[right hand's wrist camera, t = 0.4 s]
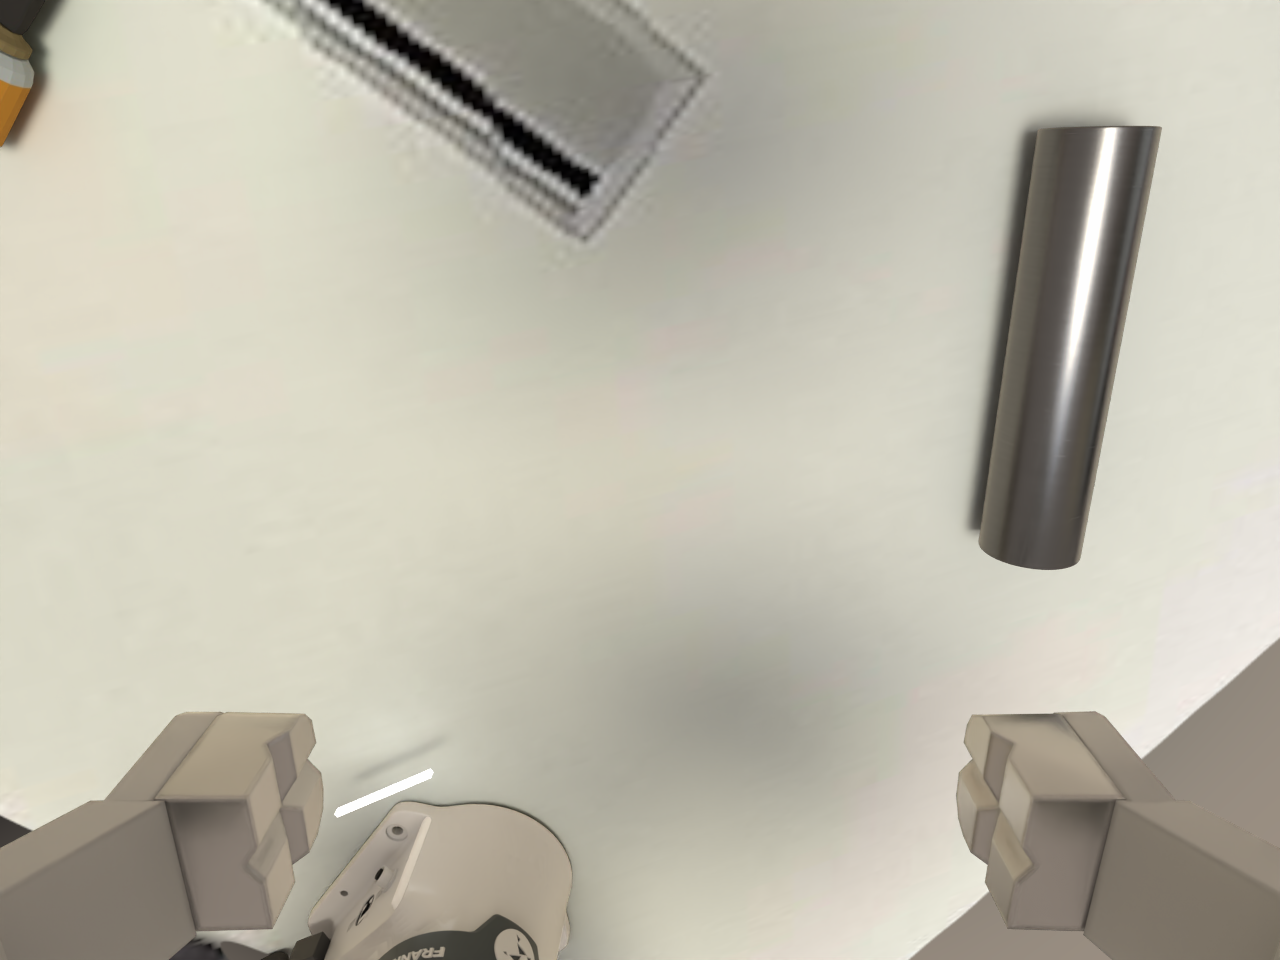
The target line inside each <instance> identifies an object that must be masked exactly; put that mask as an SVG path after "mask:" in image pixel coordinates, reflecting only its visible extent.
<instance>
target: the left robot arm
mask: <svg viewBox="0 0 1280 960" xmlns="http://www.w3.org/2000/svg"><path fill="white" fill-rule="evenodd" d="M432 774H433V771H432V770H431V769H429V770H427V771H425V772H422V773H420V774H417V775H415V776H413V777H410V778H408V779H406V780H403V781H401V782H399V783H396V784H394V785H391V786H389V787H387V788H384V789H382V790H380V791H377V792H375V793H373V794H370V795H368V796H365V797H363V798H361V799H358V800H356V801H354V802H351V803H349V804H347V805H344V806H342V807H339V808H338V809H337V811H336V813H335V815H336V816H337V817H339V816H341V815H344V814H346V813H348V812H351V811H353V810H356V809H358V808H360V807H363V806H365V805H367V804H370V803H372V802H375V801H377V800H379V799H382V798H384V797H386V796H389V795H391V794H394V793H396V792H398V791H401V790H403V789H405V788H408V787H410V786H413V785H415V784H417V783H420V782H422V781H424V780H427V779H429V778H431V776H432ZM396 826H399V827H401V828H397V827H396ZM571 888H572V869H571V864H570V861H569V858H568V856H567V854H566V852H565V850H564V848H563V846H562V845H561V844H560V842H559V841H558V840H557V838H556V837H555V836H554V835H553V834H552V833H551V832H550V831H549V830H548V829H547V828H545V827H544V826H543V825H541V824H540V823H539V822H537V821H535V820H534V819H532V818H530V817H528V816H526V815H524V814H522V813H520V812H517V811H514V810H511V809H508V808H504V807H500V806H495V805H487V804H464V805H456V806H446V807H437V806H432V805H428V804H423V803H417V802H400V803H398V804H396V805H395V806H394V807H393V808H392V809H391V811H390V812H389V813H388V814H387V816H386V817H385V818H384V819H383V821H382V822H381V823H380V824H379V826H378V827H377V828H376V830H375V831H374V832H373V833H372V835H371V836H370V837H369V838H368V840H367V841H366V842H365V843H364V845H363V846H362V847H361V848H360V850H359V851H358V852H357V853H356V855H355V856H354V857H353V858H352V860H351V861H350V862H349V863H348V865H347V866H346V867H345V868H344V870H343V871H342V872H341V873H340V875H339V876H338V877H337V878H336V880H335V881H334V882H333V884H332V885H331V886H330V887H329V889H328V890H327V891H326V892H325V894H324V895H323V896H322V897H321V899H320V900H319V901H318V902H317V904H316V905H315V906H314V908H313V909H312V911H311V913H310V916H309V919H308V926H309V929H310V931H311V934H312V936H309V937H307V938H304V939H302V940H299V941H297V942H296V944H295V947H294V949H293V951H292V953H291V956H290V958H289V956H288V955H287V954H285V953H283V952H277V953H274V954H271V955H269V956H267V957H265V958H263V959H261V960H557V956H558V952H559V951H561V950H562V949H564V948H565V947H566V946H567V944H568V940H569V935H570V925H569V920H568V916H567V913H566V907H567V903H568V899H569V896H570V892H571Z"/></svg>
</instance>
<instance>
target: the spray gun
mask: <svg viewBox="0 0 1280 960" xmlns="http://www.w3.org/2000/svg"><path fill="white" fill-rule="evenodd" d="M44 2H45V0H0V148H1V147H2V146H3V144H4V142H5V140H6V138H7V136H8V134H9V132H10V130H11V128H12V126H13V124H14V121H15V119H16V117H17V115H18V113H19V111H20V109H21V107H22V105H23V103H24V101H25V99H26V97H27V95H28V93H29V91H30V89H31V87H32V85H33V79H34V71H33V69H32V67H31V65H30V63H29V60H28V59H29V57H30V55H31V53H32V49H31V47H30V46H29V44H28V43H27V42H26V41H25V40H24V39H23V37H22V34H23V33H25V32H26V31H27V30H28V28H29V27H30V25H31V23H32V22H33V20H34V18H35V17H36V15H37V13H38V12H39V10H40V8H41V7H42V5H43V3H44Z"/></svg>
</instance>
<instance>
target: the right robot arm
mask: <svg viewBox="0 0 1280 960" xmlns="http://www.w3.org/2000/svg"><path fill="white" fill-rule="evenodd" d="M315 744H316V739H315V734H314V729H313V724H312V720H311V719H310V718H309V717H308V716H307V715H306V714H295V713H248V712H226V713H222V712H185V713H182V714H179V715H177V716H175V717H174V718H173V719H172V720H171V722H170V723H169V724H168V725H167V726H166V728H165V729H164V730H163V731H162V732H161V733H160V735H159V736H158V737H157V738H156V739H155V741H154V742H153V743H152V744H151V745H150V746H149V748H148V749H147V750H146V751H145V752H144V754H143V755H142V756H141V757H140V758H139V760H138V761H137V762H136V763H135V764H134V765H133V767H132V768H131V769H130V770H129V771H128V773H127V774H126V775H125V776H124V777H123V778H122V780H121V781H120V782H119V783H118V784H117V786H116V787H115V788H114V789H113V790H112V791H111V793H110V794H109V795H108V796H107V797H106V799H105V800H104V801H89V802H87V803H85V804H83V805H81V806H79V807H78V808H76V809H74V810H72V811H70V812H68V813H66V814H64V815H62V816H60V817H59V818H57V819H55V820H53V821H51V822H49V823H47V824H45V825H43V826H41V827H40V828H38V829H36V830H34V831H32V832H30V833H28V834H26V835H24V836H23V837H21V838H19V839H17V840H15V841H13V842H11V843H9V844H7V845H5V846H3V847H2V848H0V960H169V959H170V958H171V957H172V956H173V955H174V954H176V953H177V952H178V951H179V950H180V949H181V948H182V947H184V946H185V945H186V944H187V943H188V942H189V941H191V940H192V939H193V938H194V937H195V936H196V931H220V930H254V929H273V927H274V925H275V923H276V921H277V918H278V916H279V914H280V912H281V910H282V908H283V906H284V904H285V902H286V900H287V898H288V896H289V894H290V892H291V890H292V887H293V885H294V883H295V878H294V872H293V867H292V865H293V864H294V863H295V862H297V861H298V860H300V859H301V858H302V857H304V856H305V855H306V854H308V853H309V852H310V850H311V847H312V845H313V843H314V841H315V839H316V836H317V834H318V830H319V826H320V821H321V817H322V812H323V783H322V776H321V772H320V771H319V770H318V769H317V768H316V767H315V766H314V765H313V764H312V763H311V762H310V761H309V760H308V757H309V755H310V753H311V751H312V749H313V748H314V746H315ZM964 744H965V746H966V748H967V749H968V751H969V753H970V755H971V757H972V760H971V761H970V762H969V763H968V764H967V765H966V766H965V767H964V768H963V769H962V770H961V771H960V772H959V776H958V785H957V793H956V799H957V810H958V819H959V823H960V826H961V830H962V834H963V837H964V839H965V841H966V843H967V845H968V848H969V850H970V852H971V853H972V854H974V855H975V856H976V857H978V858H979V859H980V860H982V861H983V862H985V863H986V864H987V865H988V867H987V872H986V878H985V883H986V885H987V887H988V890H989V892H990V894H991V896H992V898H993V900H994V902H995V904H996V906H997V908H998V910H999V912H1000V914H1001V916H1002V918H1003V920H1004V922H1005V924H1006V926H1007V929H1024V930H1059V931H1084V934H1083V935H1084V936H1085V937H1086V938H1088V939H1089V940H1090V941H1091V942H1092V943H1093V944H1095V945H1096V946H1097V947H1098V948H1099V949H1100V950H1101V951H1103V952H1104V953H1105V954H1106V955H1107V956H1108V957H1110V958H1111V959H1112V960H1280V848H1278V847H1276V846H1274V845H1273V844H1271V843H1269V842H1267V841H1265V840H1263V839H1261V838H1259V837H1257V836H1255V835H1254V834H1252V833H1250V832H1248V831H1246V830H1244V829H1242V828H1240V827H1238V826H1236V825H1235V824H1233V823H1231V822H1229V821H1227V820H1225V819H1223V818H1221V817H1219V816H1218V815H1216V814H1214V813H1212V812H1210V811H1208V810H1206V809H1204V808H1202V807H1200V806H1199V805H1197V804H1195V803H1193V802H1191V801H1176V800H1175V799H1174V798H1173V796H1172V795H1171V794H1170V793H1169V792H1168V790H1167V789H1166V788H1165V787H1164V786H1163V784H1162V783H1161V782H1160V781H1159V780H1158V779H1157V777H1156V776H1155V775H1154V774H1153V773H1152V771H1151V770H1150V769H1149V768H1148V767H1147V766H1146V764H1145V763H1144V762H1143V761H1142V760H1141V758H1140V757H1139V756H1138V755H1137V754H1136V753H1135V751H1134V750H1133V749H1132V748H1131V747H1130V745H1129V744H1128V743H1127V742H1126V741H1125V740H1124V738H1123V737H1122V736H1121V735H1120V734H1119V732H1118V731H1117V730H1116V729H1115V728H1114V727H1113V725H1112V724H1111V723H1110V722H1109V721H1108V719H1107V718H1106V717H1105V716H1103V715H1101V714H1099V713H1097V712H1095V711H1091V712H1058V713H1053V714H985V715H972V716H971V718H970V720H969V722H968V724H967V727H966V733H965V738H964Z"/></svg>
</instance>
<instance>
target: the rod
mask: <svg viewBox="0 0 1280 960" xmlns="http://www.w3.org/2000/svg"><path fill="white" fill-rule="evenodd" d="M1161 130H1162V127H1159V126H1094V127H1063V128H1045V129H1039V130H1038V131H1037V137H1036V144H1035V151H1034V158H1033V165H1032V172H1031V179H1030V186H1029V193H1028V200H1027V207H1026V214H1025V221H1024V228H1023V235H1022V242H1021V248H1020V255H1019V262H1018V269H1017V276H1016V283H1015V290H1014V297H1013V304H1012V311H1011V318H1010V325H1009V332H1008V339H1007V346H1006V353H1005V360H1004V367H1003V374H1002V381H1001V388H1000V395H999V402H998V409H997V416H996V423H995V430H994V437H993V444H992V451H991V458H990V465H989V472H988V479H987V486H986V493H985V500H984V507H983V514H982V521H981V528H980V535H979V546H980V548H981V549H982V550H983V551H984V552H985V553H987V554H988V555H990V556H991V557H993V558H995V559H997V560H1000V561H1002V562H1005V563H1008V564H1012V565H1015V566H1020V567H1025V568H1031V569H1041V570H1056V569H1064V568H1068V567H1071V566H1074V565H1075V564H1077V563H1078V562H1079V560H1080V558H1081V552H1082V547H1083V542H1084V536H1085V531H1086V526H1087V521H1088V515H1089V510H1090V505H1091V500H1092V494H1093V489H1094V484H1095V478H1096V473H1097V468H1098V463H1099V457H1100V452H1101V447H1102V442H1103V436H1104V431H1105V426H1106V420H1107V415H1108V410H1109V405H1110V399H1111V394H1112V389H1113V384H1114V378H1115V373H1116V368H1117V362H1118V357H1119V352H1120V347H1121V341H1122V336H1123V331H1124V326H1125V320H1126V315H1127V310H1128V304H1129V299H1130V294H1131V289H1132V283H1133V278H1134V273H1135V268H1136V262H1137V257H1138V252H1139V246H1140V241H1141V236H1142V231H1143V225H1144V220H1145V215H1146V210H1147V204H1148V199H1149V194H1150V188H1151V183H1152V178H1153V173H1154V167H1155V162H1156V157H1157V152H1158V146H1159V141H1160V136H1161Z"/></svg>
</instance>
